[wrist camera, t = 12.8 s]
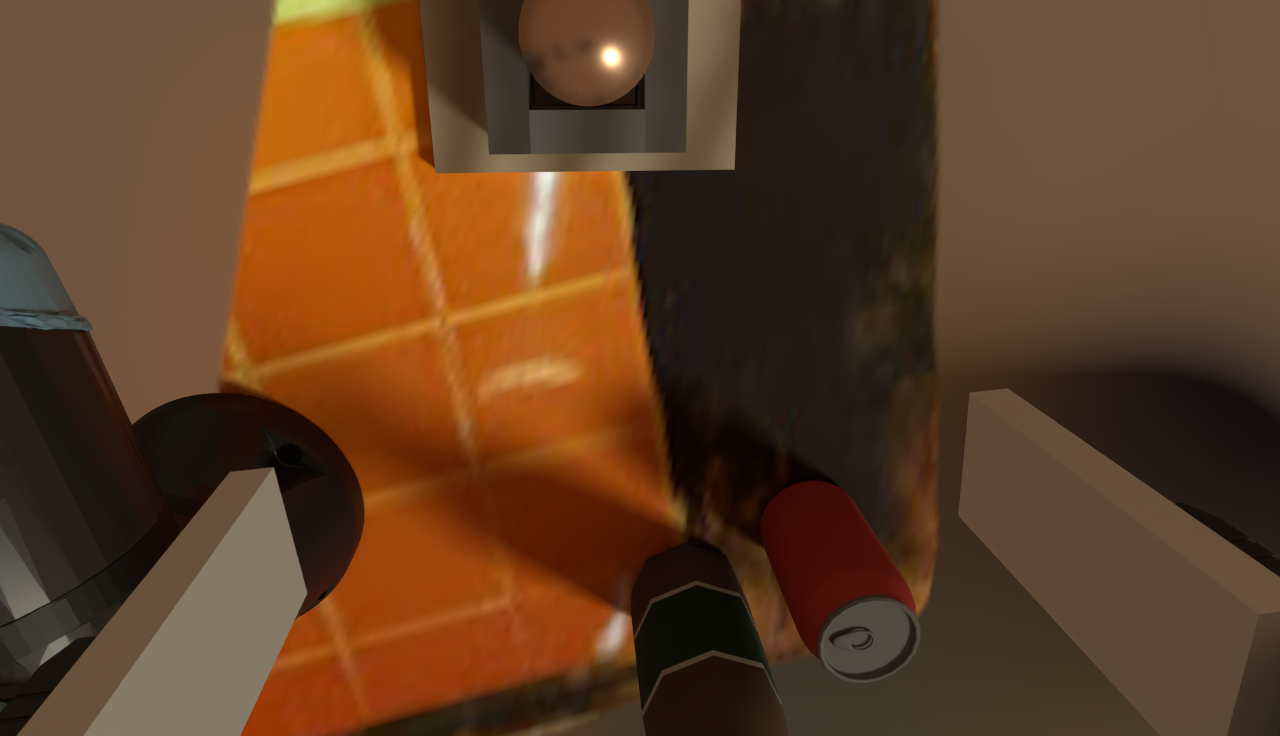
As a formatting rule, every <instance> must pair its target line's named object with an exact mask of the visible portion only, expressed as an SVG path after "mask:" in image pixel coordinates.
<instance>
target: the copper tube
mask: <svg viewBox="0 0 1280 736" xmlns="http://www.w3.org/2000/svg"><path fill="white" fill-rule="evenodd" d="M519 43H520V48H521V52H522V55H523V58H524V61H525V63H526V65H527V67H528V69H529V71H530V72H531V74H532V75H533V77H534V78H535V80H536V81H537V82H538V83H539V84H540V85H541V86H542V87H543V88H544V89H545V90H546V91H547V92H549V93H550V94H552V95H553V96H555V97H556V98H558V99H560V100H562V101H565V102H567V103H570V104H574V105H579V106H598V105H603V104H607V103H610V102H612V101H615V100H617V99H619V98H621V97H622V96H624V95H625V94H627V93H628V92H629V91H630V90H631V89H632V88H634V87H635V86H636V84H637V83H638V82H639V81H640V80H641V78H642V77H643V75H644V73H645V72H646V70H647V68H648V66H649V63H650V61H651V58H652V55H653V50H654V45H655V24H654V18H653V14H652V10H651V7H650V4H649V2H648V0H524V2H523V5H522V8H521V12H520V17H519Z"/></svg>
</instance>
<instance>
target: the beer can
mask: <svg viewBox="0 0 1280 736" xmlns="http://www.w3.org/2000/svg"><path fill="white" fill-rule="evenodd" d="M760 536H761V541H762V543H763V546H764V548H765V551H766V553H767V556H768V558H769V561H770V563H771V566H772V568H773V571H774V573H775V576H776V578H777V581H778V583H779V586H780V588H781V591H782V593H783V596H784V598H785V601H786V603H787V606H788V608H789V611H790V613H791V616H792V618H793V621H794V623H795V626H796V628H797V631H798V633H799V635H800V637H801V639H802V640H803V642H804V644H805V646H806V647H807V648H808V649H809V651H810V652H811V653H812V654H813V655H815V656H816V657H817V658H818V659H819V660H820V661H821V663H822V665H823V667H824V668H825V669H826V670H827V671H828V672H830V673H831V674H832V675H833V676H834V677H837V678H839V679H842V680H844V681H847V682H858V683H865V682H871V681H877V680H881V679H883V678H885V677H887V676H890V675H892V674H894V673H895V672H896V671H898V670H899V669H901V668H902V667H903V666H905V665H906V664H907V663H908V661H909V660H910V659H911V657H912V656H913V655H914V654H915V652H916V650H917V647H918V644H919V641H920V624H919V622H918V619H917V617H916V606H915V603H914V599H913V596H912V594H911V591H910V589H909V587H908V585H907V583H906V581H905V579H904V578H903V576H902V575H901V573H900V572H899V570H898V569H897V567H896V566H895V564H894V563H893V561H892V560H891V558H890V556H889V555H888V553H887V552H886V550H885V549H884V547H883V546H882V544H881V543H880V541H879V540H878V538H877V537H876V535H875V533H874V532H873V530H872V529H871V527H870V526H869V524H868V523H867V521H866V520H865V518H864V517H863V515H862V514H861V512H860V510H859V509H858V507H857V506H856V504H855V503H854V501H853V500H852V498H851V497H850V496H849V495H848V494H847V493H846V492H845V491H844V490H843V489H842V488H839V487H837V486H835V485H833V484H831V483H828V482H822V481H813V480H812V481H806V482H800V483H796V484H794V485H792V486H790V487H787V488H785V489H783V490H782V491H781V492H780V493H778V494H777V495H776V496H775V497H774V498H773V499H771V501H770V502H769V504H768V506H767V507H766V509H765V510H764V512H763V515H762V519H761V523H760Z"/></svg>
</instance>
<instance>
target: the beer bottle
mask: <svg viewBox="0 0 1280 736" xmlns="http://www.w3.org/2000/svg"><path fill="white" fill-rule="evenodd" d="M631 616H632V625H633V635H634V644H635V653H636V662H637V671H638V681H639V690H640V699H641V708H642V717H643V721H644V727H645V732H646V736H788V730H787V725H786V721H785V717H784V712H783V708H782V704H781V701H780V698H779V695H778V693H777V689H776V686H775V683H774V680H773V677H772V674H771V671H770V668H769V665H768V662H767V659H766V656H765V653H764V650H763V647H762V644H761V641H760V638H759V635H758V632H757V629H756V626H755V622H754V619H753V616H752V613H751V610H750V607H749V604H748V602H747V600H746V597H745V595H744V593H743V590H742V588H741V586H740V584H739V582H738V579H737V577H736V575H735V573H734V571H733V569H732V567H731V565H730V563H729V560H728V558H727V556H726V555H724V554H720V553H717V552H714V551H710V550H707V549H703V548H700V547H696V546H693V545H690V544H683V545H681V546H678V547H676V548H674V549H671V550H669V551H666V552H664V553H662V554H659V555H657V556H654V557H652V558H650V559H648V560H647V561H646V563H645V566H644V568H643V570H642V572H641V574H640V577H639V579H638V581H637V583H636V585H635V587H634V590H633V592H632V594H631Z"/></svg>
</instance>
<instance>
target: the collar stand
mask: <svg viewBox="0 0 1280 736" xmlns="http://www.w3.org/2000/svg"><path fill="white" fill-rule="evenodd" d="M523 2H524V0H419V5H420V16H421V27H422V37H423V48H424V58H425V69H426V80H427V90H428V101H429V111H430V122H431V133H432V143H433V154H434V164H435V173H482V172H563V171H644V170H725V169H734V164H735V139H736V114H737V89H738V64H739V39H740V14H741V0H648V2H649V4H650V7H651V10H652V14H653V18H654V24H655V45H654V50H653V55H652V58H651V61H650V63H649V66H648V68H647V70H646V72H645V73H644V75H643V77H642V78H641V80H640V81H639V82H638V83H637V84H636V86H635V87H634V88H632V89H631V90H630V91H629V92H628V93H627V94H625V95H624V96H622V97H621V98H619V99H617V100H615V101H612V102H610V103H607V104H603V105H598V106H579V105H574V104H570V103H567V102H565V101H562V100H560V99H558V98H556V97H555V96H553V95H552V94H550V93H549V92H547V91H546V90H545V89H544V88H543V87H542V86H541V85H540V84H539V83H538V82H537V81H536V80H535V78H534V77H533V75H532V74H531V72H530V71H529V69H528V67H527V65H526V63H525V61H524V58H523V55H522V52H521V48H520V43H519V17H520V12H521V8H522V5H523Z"/></svg>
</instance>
